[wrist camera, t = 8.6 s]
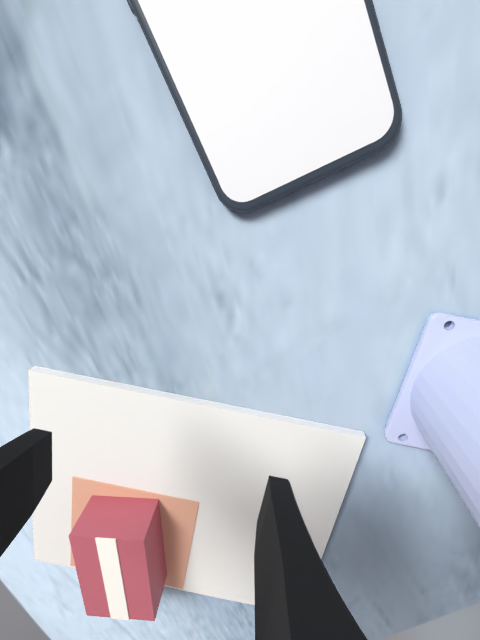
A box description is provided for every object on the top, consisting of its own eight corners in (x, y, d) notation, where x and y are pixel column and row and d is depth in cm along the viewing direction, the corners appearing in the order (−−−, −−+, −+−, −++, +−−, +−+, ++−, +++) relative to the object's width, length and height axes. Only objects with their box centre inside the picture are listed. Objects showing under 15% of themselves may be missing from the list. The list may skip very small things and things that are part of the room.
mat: (363, 431, 22) (366, 438, 21) (300, 605, 27) (300, 615, 27) (34, 365, 22) (27, 370, 21) (38, 552, 27) (33, 560, 27)
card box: (167, 574, 26) (154, 622, 23) (106, 569, 26) (86, 616, 24) (158, 499, 24) (143, 541, 21) (91, 495, 24) (67, 537, 21)
